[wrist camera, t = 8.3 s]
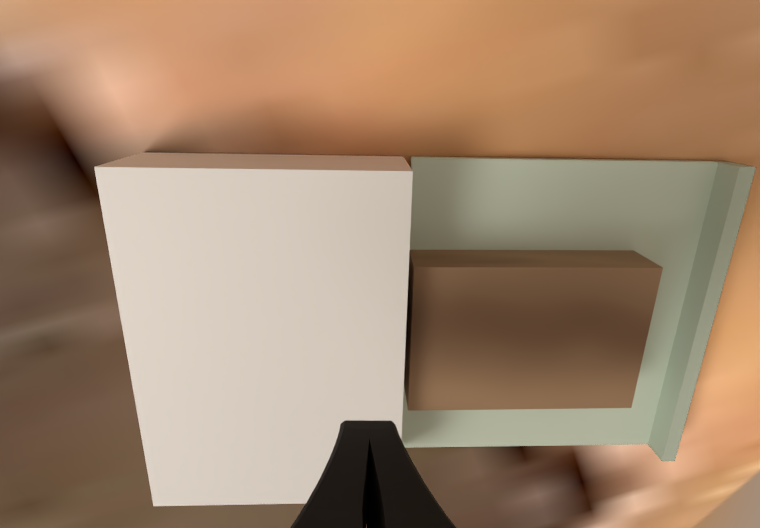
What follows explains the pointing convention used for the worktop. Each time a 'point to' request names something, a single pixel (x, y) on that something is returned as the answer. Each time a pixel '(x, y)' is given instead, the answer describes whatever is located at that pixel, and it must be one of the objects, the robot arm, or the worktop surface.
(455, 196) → the mat
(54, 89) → the worktop surface
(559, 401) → the tile
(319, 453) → the white box
